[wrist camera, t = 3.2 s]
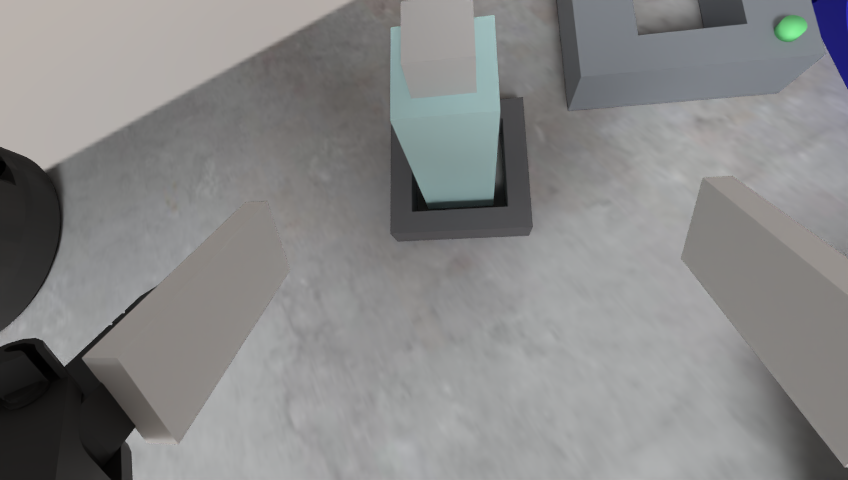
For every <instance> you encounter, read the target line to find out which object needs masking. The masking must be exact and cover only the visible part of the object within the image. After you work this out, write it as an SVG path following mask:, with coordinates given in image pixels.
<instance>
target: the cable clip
mask: <svg viewBox="0 0 848 480" xmlns="http://www.w3.org/2000/svg"><path fill="white" fill-rule="evenodd" d="M811 2H812V5H813V9H814V13H815V16H816V20H817V24H818V27H819V31H820V34H821V38H822V40H823V42H824V44H825V46H826V48H827V49H828V51H829V53H830V55H831V57H832V59H833V61H834V63H835V65H836V67H837V69H838V71H839V73H840V75H841V77H842V79H843V81H844V83H845V85H846V87H847V89H848V0H811Z"/></svg>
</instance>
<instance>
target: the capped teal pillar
mask: <svg viewBox="0 0 848 480" xmlns="http://www.w3.org/2000/svg"><path fill="white" fill-rule="evenodd" d="M390 121H391V123H392V126H393V128H394V130H395V133H396V135H397V137H398V139H399V142H400V144H401V146H402V149H403V151H404V153H405V156H406V158H407V160H408V162H409V165H410V167H411V169H412V172H413V174H414V176H415V178H416V181H417V183H418V185H419V188H420V190H421V192H422V194H423V197H424V199H425V201H426V204H427V206H428V208H429V209H440V208H458V207H476V206H493V201H494V188H495V175H496V161H497V148H498V135H499V122H500V96H499V80H498V64H497V48H496V32H495V15H491V16H483V17H474V10H473V0H407V1H401V26H398V27H391V58H390Z"/></svg>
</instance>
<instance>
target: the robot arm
mask: <svg viewBox="0 0 848 480" xmlns="http://www.w3.org/2000/svg"><path fill="white" fill-rule="evenodd" d="M59 228H60V212H59V204H58V199H57V195H56V192H55V189H54V187H53V185H52V183H51V181H50V179H49V178H48V176H47V175H46V173H45V172H44V171H43V170H42V169H41V168H40V167H39V166H38V165H37V164H36V163H35V162H33V161H32V160H30V159H28V158H27V157H24V156H22V155H20V154H17V153H15V152H12V151H9V150H7V149H4V148H2V147H0V331H1V330H3V329H4V328H5V327H6V326H8V325H9V324H10V323H11V322H12V321H13V320H14V319H15V318H16V317H17V316H18V315H19V314H20V313H21V312H22V311H23V310H24V309H25V307H26V306H27V305H28V304H29V302H30V301H31V300H32V298H33V297H34V296H35V294H36V292H37V291H38V289H39V288H40V286H41V284H42V283H43V281H44V279H45V277H46V275H47V273H48V270H49V268H50V266H51V263H52V260H53V257H54V254H55V251H56V247H57V242H58V236H59ZM681 259H682V260H683V262H684V263H685V264H686V266H687V267H688V268H689V269H690V271H691V272H692V273H693V274H694V276H695V277H696V278H697V280H698V281H699V282H700V283H701V285H702V286H703V287H704V289H705V290H706V291H707V292H708V294H709V295H710V296H711V297H712V299H713V300H714V301H715V303H716V304H717V305H718V306H719V308H720V309H721V310H722V311H723V313H724V314H725V315H726V317H727V318H728V319H729V320H730V322H731V323H732V324H733V326H734V327H735V328H736V329H737V331H738V332H739V333H740V334H741V336H742V337H743V338H744V340H745V341H746V342H747V343H748V345H749V346H750V347H751V349H752V350H753V351H754V352H755V354H756V355H757V356H758V357H759V359H760V360H761V361H762V363H763V364H764V365H765V366H766V368H767V369H768V370H769V372H770V373H771V374H772V375H773V377H774V378H775V379H776V380H777V382H778V383H779V384H780V386H781V387H782V388H783V389H784V391H785V392H786V393H787V395H788V396H789V397H790V398H791V400H792V401H793V402H794V403H795V405H796V406H797V407H798V409H799V410H800V411H801V412H802V414H803V415H804V416H805V418H806V419H807V420H808V421H809V423H810V424H811V425H812V426H813V428H814V429H815V430H816V432H817V433H818V434H819V435H820V437H821V438H822V439H823V441H824V442H825V443H826V444H827V446H828V447H829V448H830V449H831V451H832V452H833V453H834V455H835V456H836V457H837V458H838V460H839V461H840V462H841V464H842V465H843V466H844V467H845V468H848V258H847V257H845V256H844V255H843V254H841V253H840V252H838V251H837V250H836V249H834V248H833V247H831V246H830V245H829V244H827V243H826V242H824V241H823V240H822V239H820V238H819V237H817V236H816V235H815V234H813V233H812V232H810V231H809V230H808V229H806V228H805V227H803V226H802V225H801V224H799V223H798V222H796V221H795V220H794V219H792V218H791V217H789V216H788V215H787V214H785V213H784V212H782V211H781V210H780V209H778V208H777V207H775V206H774V205H773V204H771V203H770V202H768V201H767V200H766V199H764V198H763V197H761V196H760V195H758V194H757V193H756V192H754V191H753V190H751V189H750V188H749V187H747V186H746V185H744V184H743V183H742V182H740V181H739V180H737V179H736V178H735V177H733V176H723V177H704V178H703V179H702V182H701V186H700V190H699V193H698V197H697V201H696V205H695V208H694V212H693V216H692V219H691V223H690V227H689V230H688V234H687V238H686V241H685V245H684V249H683V252H682V256H681ZM289 271H290V267H289V264H288V261H287V258H286V255H285V252H284V249H283V247H282V244H281V241H280V238H279V235H278V232H277V229H276V226H275V223H274V220H273V217H272V214H271V211H270V208H269V205H268V202H267V201H261V202H245V203H244V204H243V205H242V206H241V207H240V208H239V209H238V210H237V211H236V212H235V213H234V214H233V215H232V216H230V217H229V218H228V219H227V220H226V221H225V222H224V223H223V224H222V225H221V226H220V227H219V228H218V229H217V230H216V231H215V232H214V233H213V234H212V235H210V236H209V237H208V238H207V239H206V240H205V241H204V242H203V243H202V244H201V245H200V246H199V247H198V248H197V249H196V250H195V251H194V252H193V253H192V254H190V255H189V256H188V257H187V258H186V259H185V260H184V261H183V262H182V263H181V264H180V265H179V266H178V267H177V268H176V269H175V270H174V271H173V272H172V273H170V274H169V275H168V276H167V277H166V278H165V279H164V280H163V281H162V282H161V283H160V284H159V285H158V286H156V287H155V288H153V289H151V290H150V291H148V292H146V293H145V294H143V295H142V296H140V297H139V298H138V299H137V300H136V301H135V302H134V303H133V304H131V305H130V306H129V307H128V308H127V309H126V310H125V313H122V314H121V315H120V316H119V317H117V318H116V319H115V320H114V321H113V322H112V323H113V324H112V325H109V326H108V327H107V328H106V329H105V330H104V331H102V332H101V333H100V334H99V335H98V336H97V337H96V338H95V339H94V340H93V341H92V342H91V343H90V344H89V345H87V346H86V347H85V348H84V349H83V350H82V351H81V352H80V353H79V354H78V355H77V356H76V357H75V358H74V359H72V360H71V361H70V362H69V363H68V364H67V365H66V366H65V367H64V366H63V365H62V364H61V362H60V361H59V360H58V359H57V357H56V356H55V355H54V354H53V353H52V351H51V350H50V349H49V348H48V346H47V345H46V344H45V343H44V342H43V341H42V340H39V339H36V338H30V339H22V340H18V341H15V342H12V343H8V344H6V345H3V346H1V347H0V480H133V478H132V457H131V450H130V448H129V445H128V444H127V443H126V442H125V440H126V438H127V437H128V436H129V435H130V433H131V432H132V431H133V429H134V428H136V429H137V431H138V432H139V433H140V434H141V436H142V437H143V438H144V440H145V441H146V442H147V443H148V444H174V445H179V443H180V441H181V440H182V438H183V437H184V435H185V434H186V432H187V430H188V429H189V427H190V426H191V424H192V423H193V421H194V420H195V418H196V416H197V415H198V413H199V412H200V410H201V409H202V407H203V405H204V404H205V402H206V401H207V399H208V398H209V396H210V395H211V393H212V391H213V390H214V388H215V387H216V385H217V384H218V382H219V380H220V379H221V377H222V376H223V374H224V373H225V371H226V369H227V368H228V366H229V365H230V363H231V362H232V360H233V359H234V357H235V355H236V354H237V352H238V351H239V349H240V348H241V346H242V344H243V343H244V341H245V340H246V338H247V337H248V335H249V334H250V332H251V330H252V329H253V327H254V326H255V324H256V323H257V321H258V319H259V318H260V316H261V315H262V313H263V312H264V310H265V309H266V307H267V305H268V304H269V302H270V301H271V299H272V298H273V296H274V294H275V293H276V291H277V290H278V288H279V287H280V285H281V284H282V282H283V280H284V279H285V277H286V276H287V274H288V273H289Z"/></svg>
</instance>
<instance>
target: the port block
mask: <svg viewBox="0 0 848 480" xmlns="http://www.w3.org/2000/svg"><path fill="white" fill-rule="evenodd" d="M699 5H700V10H701V15H702V20H703V25H704V28H702V29H693V30H683V31H674V32H664V33H655V34H645V35H638V30H637V24H636V17H635V11H634V5H633V0H557V9H558V18H559V28H560V38H561V47H562V57H563V66H564V76H565V85H566V95H567V105H568V111H572V110H583V109H595V108H607V107H619V106H631V105H643V104H655V103H667V102H679V101H691V100H703V99H715V98H727V97H739V96H751V95H763V94H775V93H779V92H780V91H781V90H782V89H783V88H785V87H786V86H787V85H788V84H790V83H791V82H792V81H793V80H795V79H796V78H797V77H798V76H799V75H801V74H802V73H803V72H804V71H806V70H807V69H808V68H809V67H810V66H812V65H813V64H814V63H815V62H817V61H818V60H819V59H820V58H821V57H823V56H824V55H825V54H826V53H825V49H824V45H823V42H822V38H821V34H820V31H819V27H818V24H817V20H816V16H815V13H814V9H813V5H812V2H811V0H699Z"/></svg>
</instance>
